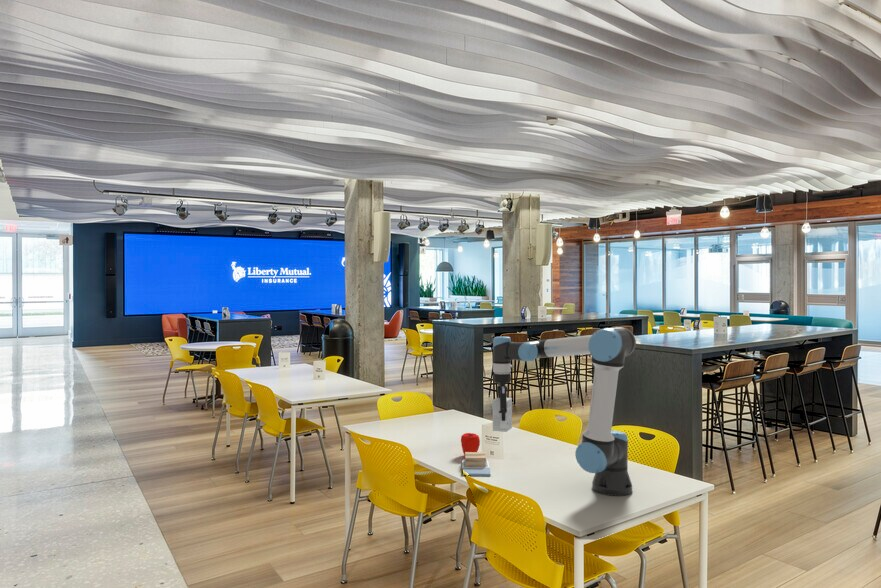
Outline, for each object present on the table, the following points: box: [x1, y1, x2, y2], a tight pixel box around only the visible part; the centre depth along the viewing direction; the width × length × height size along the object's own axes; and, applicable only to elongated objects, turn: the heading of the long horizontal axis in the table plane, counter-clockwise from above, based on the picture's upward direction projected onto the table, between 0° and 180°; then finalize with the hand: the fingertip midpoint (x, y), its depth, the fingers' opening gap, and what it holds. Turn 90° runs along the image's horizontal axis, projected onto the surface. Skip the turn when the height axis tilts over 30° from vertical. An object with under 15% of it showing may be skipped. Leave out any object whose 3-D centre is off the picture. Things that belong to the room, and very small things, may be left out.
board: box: [461, 459, 491, 477], centre depth 257 cm, size 20×12×1 cm, turn 178°
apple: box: [460, 432, 481, 456], centre depth 277 cm, size 9×9×11 cm
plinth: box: [464, 451, 487, 467], centre depth 261 cm, size 9×9×4 cm
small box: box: [491, 396, 513, 433], centre depth 248 cm, size 8×6×13 cm
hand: (502, 425), depth 248 cm, fingers closed on small box, 10 cm apart
